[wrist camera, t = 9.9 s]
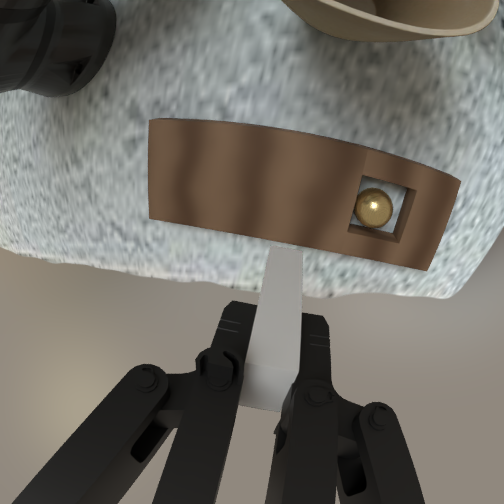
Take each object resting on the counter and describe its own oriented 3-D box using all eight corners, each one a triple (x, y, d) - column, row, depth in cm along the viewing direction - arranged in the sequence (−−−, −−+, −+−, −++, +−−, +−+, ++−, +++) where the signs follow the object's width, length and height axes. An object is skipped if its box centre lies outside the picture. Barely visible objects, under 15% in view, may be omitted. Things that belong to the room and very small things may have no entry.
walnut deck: (159, 210, 31) (149, 218, 29) (160, 118, 26) (149, 119, 24) (420, 259, 29) (427, 271, 27) (450, 174, 23) (461, 181, 21)
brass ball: (345, 214, 28) (358, 234, 24) (353, 179, 25) (368, 195, 22) (377, 217, 28) (392, 237, 25) (386, 184, 26) (404, 200, 22)
